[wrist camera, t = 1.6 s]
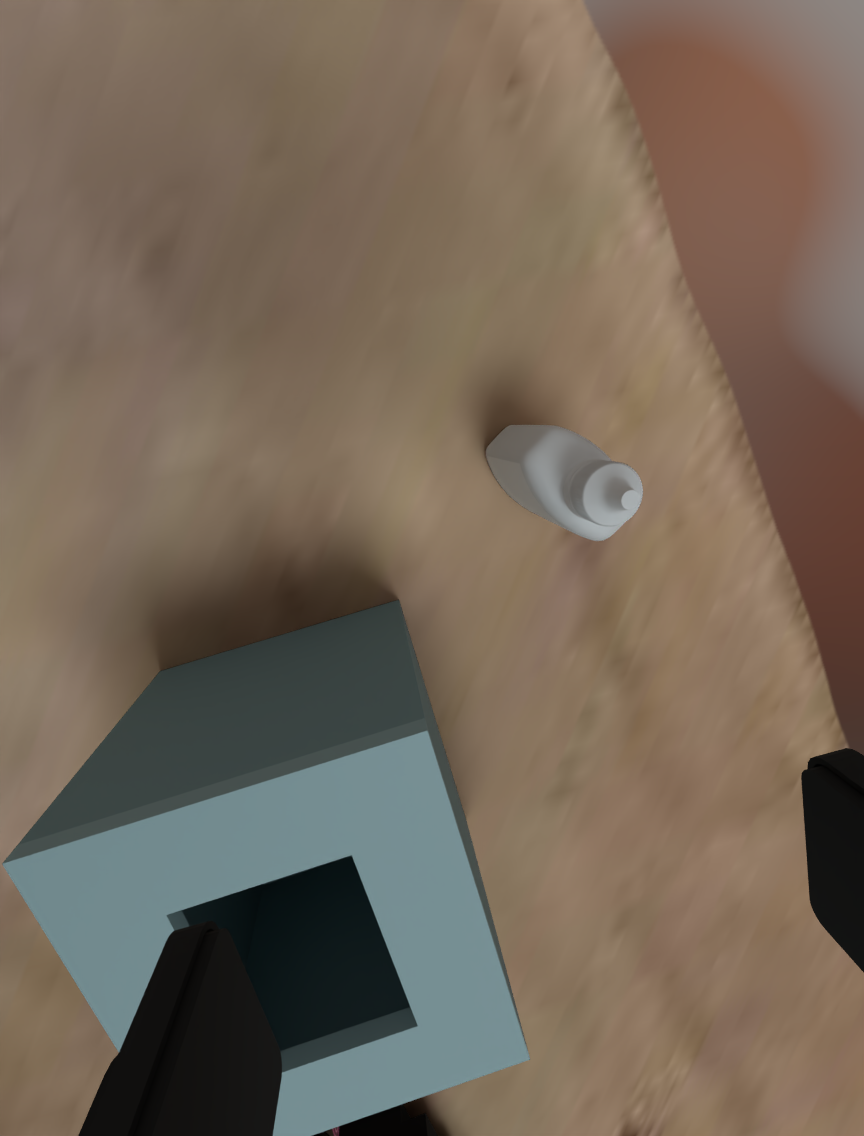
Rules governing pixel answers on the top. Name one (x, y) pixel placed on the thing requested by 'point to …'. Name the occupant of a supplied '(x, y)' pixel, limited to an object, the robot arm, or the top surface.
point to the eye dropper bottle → (565, 479)
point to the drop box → (289, 866)
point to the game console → (389, 1124)
